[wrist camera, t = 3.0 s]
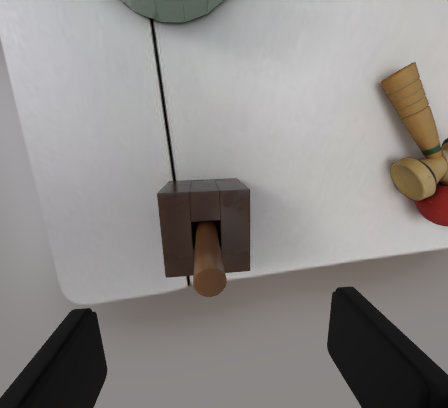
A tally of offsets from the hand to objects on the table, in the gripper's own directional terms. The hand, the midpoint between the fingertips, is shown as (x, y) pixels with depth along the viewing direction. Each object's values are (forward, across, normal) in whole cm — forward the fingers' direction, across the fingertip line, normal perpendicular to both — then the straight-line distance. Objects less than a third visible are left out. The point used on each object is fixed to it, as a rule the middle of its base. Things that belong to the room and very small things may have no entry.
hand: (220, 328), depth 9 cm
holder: (+17, 0, 0) cm, 17 cm away
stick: (+17, 0, 0) cm, 17 cm away
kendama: (+18, -24, -6) cm, 30 cm away
